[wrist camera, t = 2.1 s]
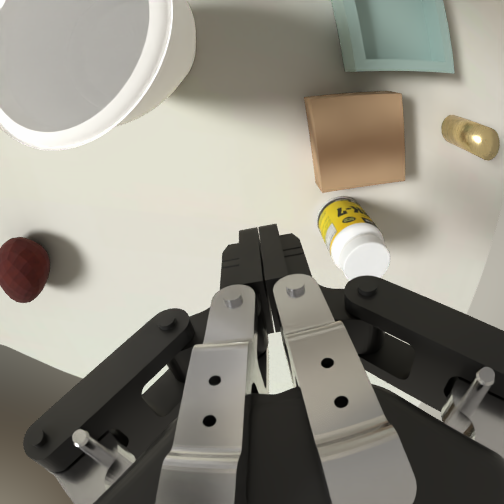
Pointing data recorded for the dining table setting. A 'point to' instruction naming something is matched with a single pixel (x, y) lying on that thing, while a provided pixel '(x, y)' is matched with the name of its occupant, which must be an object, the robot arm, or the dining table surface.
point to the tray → (394, 35)
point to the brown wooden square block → (356, 139)
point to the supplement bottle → (352, 239)
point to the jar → (88, 65)
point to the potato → (23, 269)
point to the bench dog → (471, 136)
